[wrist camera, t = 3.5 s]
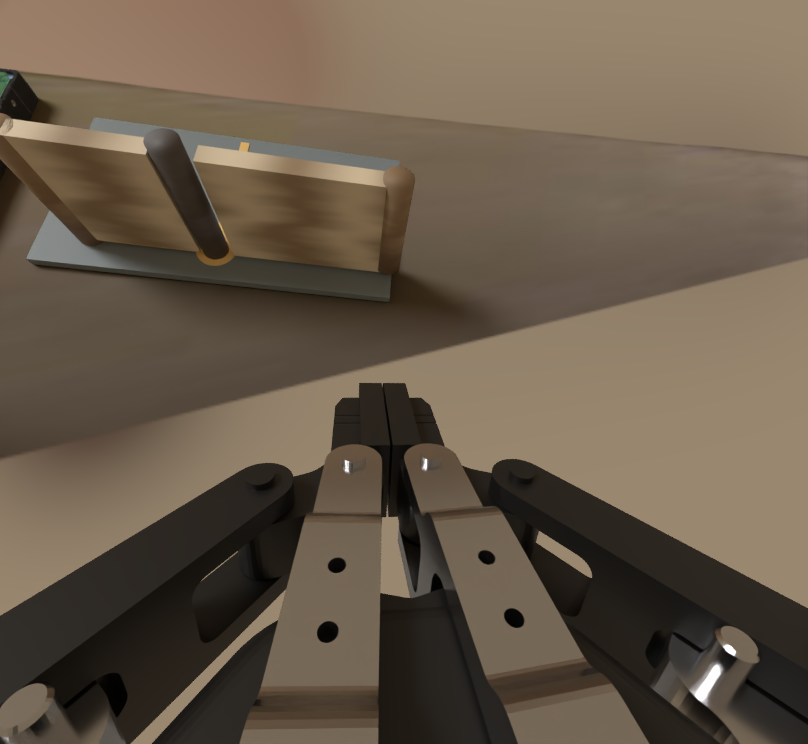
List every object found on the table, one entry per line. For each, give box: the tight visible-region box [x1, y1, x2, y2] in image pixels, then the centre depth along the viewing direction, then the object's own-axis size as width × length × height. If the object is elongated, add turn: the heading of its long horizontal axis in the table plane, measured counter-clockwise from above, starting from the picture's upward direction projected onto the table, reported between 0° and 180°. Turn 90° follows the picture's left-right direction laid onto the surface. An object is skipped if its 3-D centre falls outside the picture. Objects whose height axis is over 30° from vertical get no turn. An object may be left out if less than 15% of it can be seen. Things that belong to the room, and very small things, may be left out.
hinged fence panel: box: [193, 145, 415, 275], centre depth 25 cm, size 12×2×8 cm, turn 87°
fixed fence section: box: [0, 113, 229, 260], centre depth 24 cm, size 10×2×10 cm, turn 87°
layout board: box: [26, 117, 399, 302], centre depth 31 cm, size 25×14×1 cm, turn 87°
